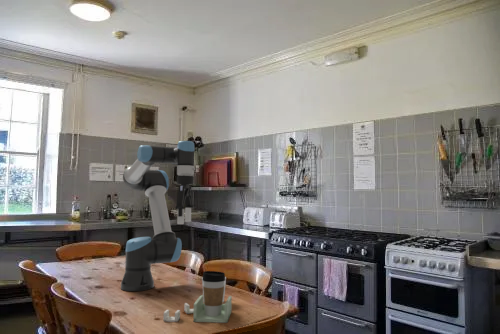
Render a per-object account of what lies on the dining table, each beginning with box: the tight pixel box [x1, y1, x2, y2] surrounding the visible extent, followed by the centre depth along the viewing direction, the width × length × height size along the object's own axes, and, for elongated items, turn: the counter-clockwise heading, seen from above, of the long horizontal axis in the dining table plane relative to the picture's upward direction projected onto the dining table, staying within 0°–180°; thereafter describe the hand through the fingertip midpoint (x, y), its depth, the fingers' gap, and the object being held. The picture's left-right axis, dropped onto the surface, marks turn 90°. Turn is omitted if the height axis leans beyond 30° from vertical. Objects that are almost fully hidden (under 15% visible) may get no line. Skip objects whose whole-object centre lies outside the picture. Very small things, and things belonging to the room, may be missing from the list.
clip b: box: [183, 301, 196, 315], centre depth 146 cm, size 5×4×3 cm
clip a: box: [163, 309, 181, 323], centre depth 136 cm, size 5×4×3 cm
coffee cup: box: [201, 270, 226, 316], centre depth 140 cm, size 8×8×15 cm
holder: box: [192, 294, 233, 324], centre depth 140 cm, size 12×12×6 cm
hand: (184, 223), depth 170 cm, fingers open, 13 cm apart
